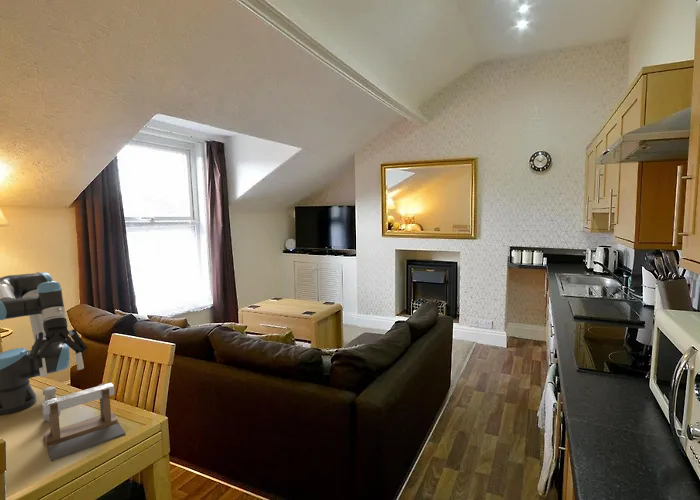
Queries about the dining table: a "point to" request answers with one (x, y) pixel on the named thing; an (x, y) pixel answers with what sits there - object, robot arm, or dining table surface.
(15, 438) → the dining table surface
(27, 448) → the dining table surface
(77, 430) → the bracket stand
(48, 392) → the salt shaker
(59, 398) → the metal rail
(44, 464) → the dining table surface
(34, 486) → the dining table surface
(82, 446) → the rubber mat
